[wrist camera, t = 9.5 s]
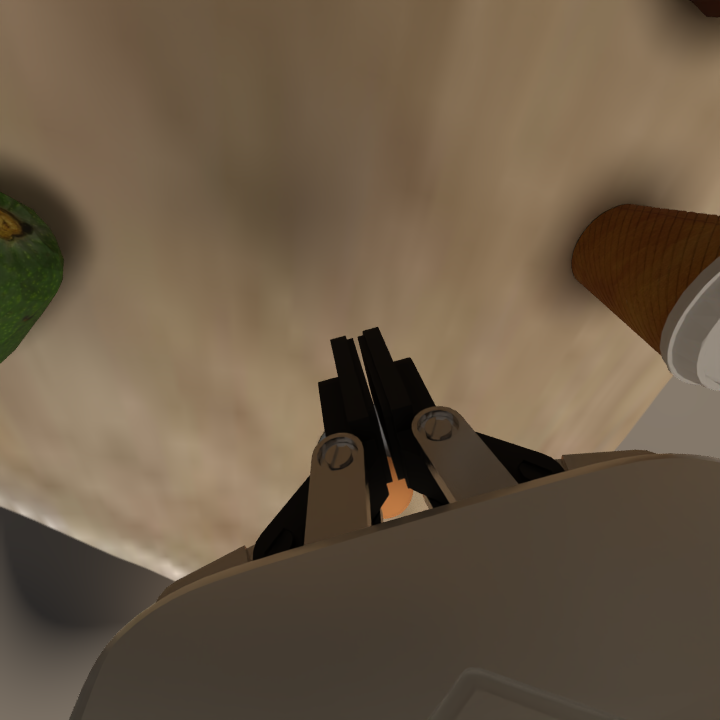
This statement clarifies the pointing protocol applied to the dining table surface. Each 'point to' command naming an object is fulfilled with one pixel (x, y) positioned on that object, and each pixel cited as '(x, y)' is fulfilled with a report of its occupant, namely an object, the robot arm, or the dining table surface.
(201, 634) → the robot arm
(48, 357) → the dining table surface
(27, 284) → the fruit
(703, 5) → the muffin
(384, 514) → the ball
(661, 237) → the disposable coffee cup
